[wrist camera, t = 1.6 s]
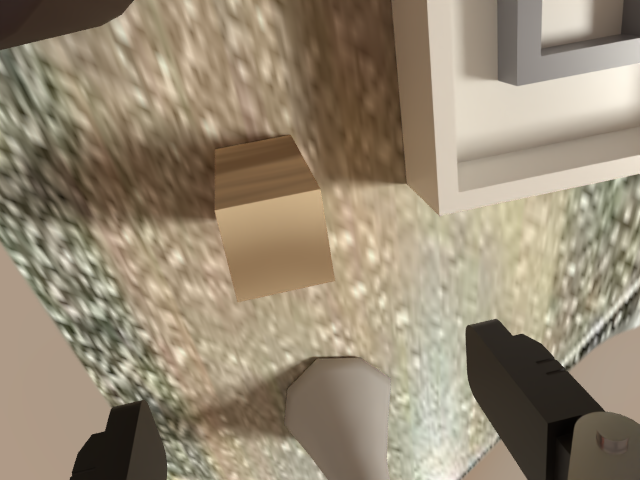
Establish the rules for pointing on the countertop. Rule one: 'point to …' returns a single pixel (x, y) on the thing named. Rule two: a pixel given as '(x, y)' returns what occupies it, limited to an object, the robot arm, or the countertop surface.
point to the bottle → (53, 18)
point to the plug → (270, 218)
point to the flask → (342, 417)
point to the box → (516, 96)
